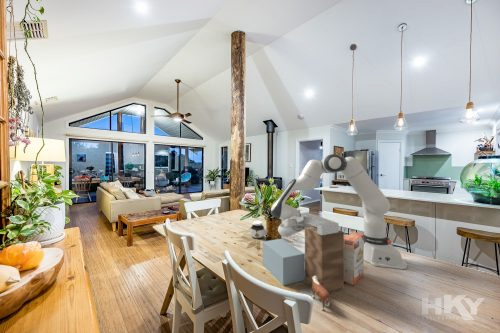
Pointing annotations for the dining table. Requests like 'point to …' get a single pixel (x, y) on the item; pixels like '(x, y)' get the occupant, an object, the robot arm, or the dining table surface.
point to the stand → (324, 258)
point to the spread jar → (258, 230)
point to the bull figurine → (320, 292)
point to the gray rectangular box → (284, 261)
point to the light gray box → (321, 224)
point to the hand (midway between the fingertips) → (308, 217)
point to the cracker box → (353, 257)
